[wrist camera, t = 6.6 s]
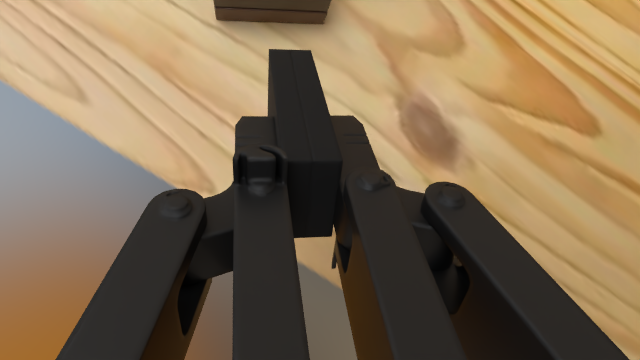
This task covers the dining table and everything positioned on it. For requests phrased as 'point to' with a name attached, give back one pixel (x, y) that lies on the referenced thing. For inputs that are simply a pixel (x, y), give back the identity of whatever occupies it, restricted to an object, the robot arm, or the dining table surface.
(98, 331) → the robot arm
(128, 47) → the dining table surface
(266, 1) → the brown wooden tray
